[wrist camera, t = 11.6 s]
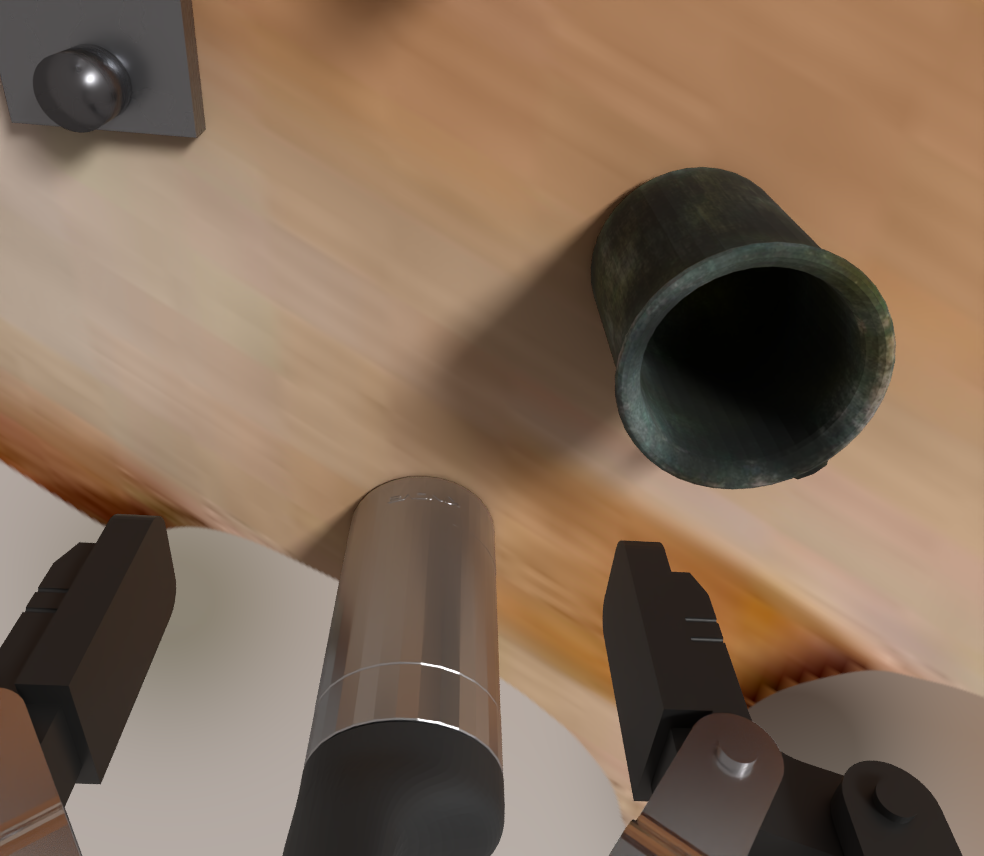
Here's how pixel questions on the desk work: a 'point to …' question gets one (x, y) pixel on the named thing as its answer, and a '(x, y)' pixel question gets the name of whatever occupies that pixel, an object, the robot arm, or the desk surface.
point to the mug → (735, 333)
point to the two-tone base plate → (102, 65)
